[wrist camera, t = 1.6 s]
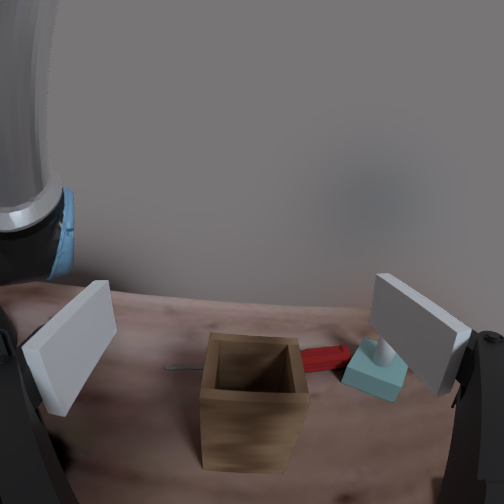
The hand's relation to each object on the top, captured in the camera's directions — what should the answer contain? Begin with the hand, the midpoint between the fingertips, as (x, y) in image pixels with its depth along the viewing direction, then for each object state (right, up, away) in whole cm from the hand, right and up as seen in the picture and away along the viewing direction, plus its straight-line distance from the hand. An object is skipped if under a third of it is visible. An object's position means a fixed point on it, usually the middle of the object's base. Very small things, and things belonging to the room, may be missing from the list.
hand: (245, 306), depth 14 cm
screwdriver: (+1, -14, +25) cm, 28 cm away
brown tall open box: (-1, -18, +14) cm, 23 cm away
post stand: (+18, -15, +25) cm, 34 cm away
